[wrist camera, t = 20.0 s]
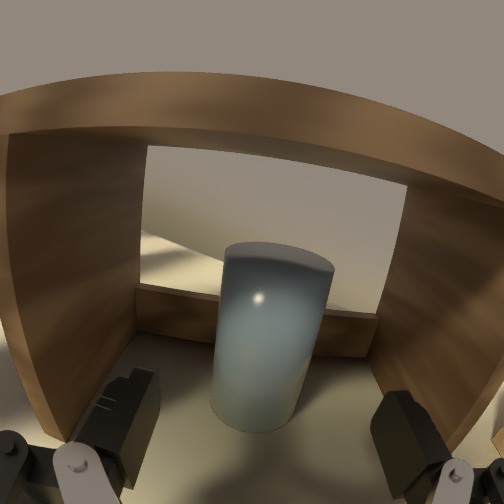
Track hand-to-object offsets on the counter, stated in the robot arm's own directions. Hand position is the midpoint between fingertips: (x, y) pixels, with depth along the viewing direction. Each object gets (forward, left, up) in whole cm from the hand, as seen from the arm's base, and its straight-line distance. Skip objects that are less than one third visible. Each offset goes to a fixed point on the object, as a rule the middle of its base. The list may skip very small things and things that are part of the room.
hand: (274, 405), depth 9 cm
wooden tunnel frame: (0, +7, -7) cm, 10 cm away
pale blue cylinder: (0, +7, -7) cm, 10 cm away
